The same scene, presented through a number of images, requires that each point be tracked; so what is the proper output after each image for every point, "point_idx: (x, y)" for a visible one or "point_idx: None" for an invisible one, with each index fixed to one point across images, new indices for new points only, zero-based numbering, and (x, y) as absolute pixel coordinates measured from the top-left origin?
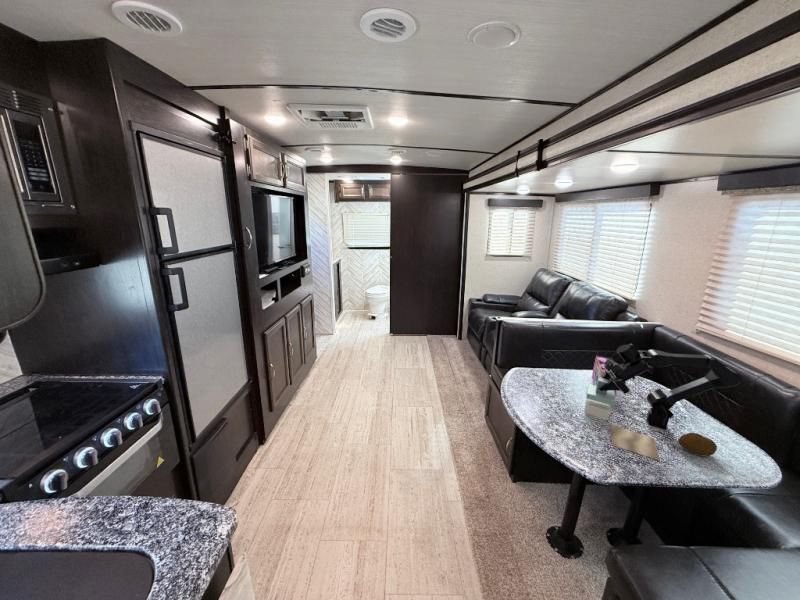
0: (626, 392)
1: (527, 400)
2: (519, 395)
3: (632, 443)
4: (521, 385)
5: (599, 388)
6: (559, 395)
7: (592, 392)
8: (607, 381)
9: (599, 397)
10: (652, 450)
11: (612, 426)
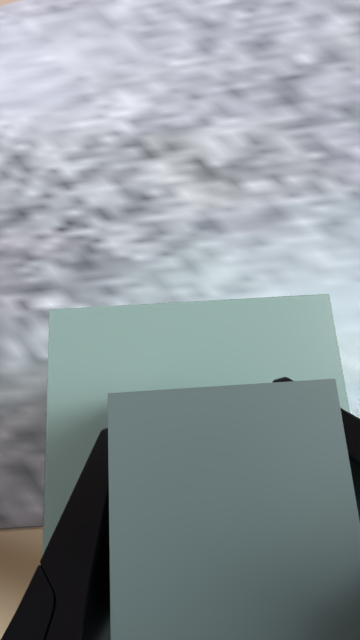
0: None
1: (61, 74)
2: (90, 34)
3: None
4: (216, 21)
5: (102, 434)
6: (250, 201)
7: (114, 359)
8: (216, 628)
9: (48, 443)
10: None
11: (37, 539)
